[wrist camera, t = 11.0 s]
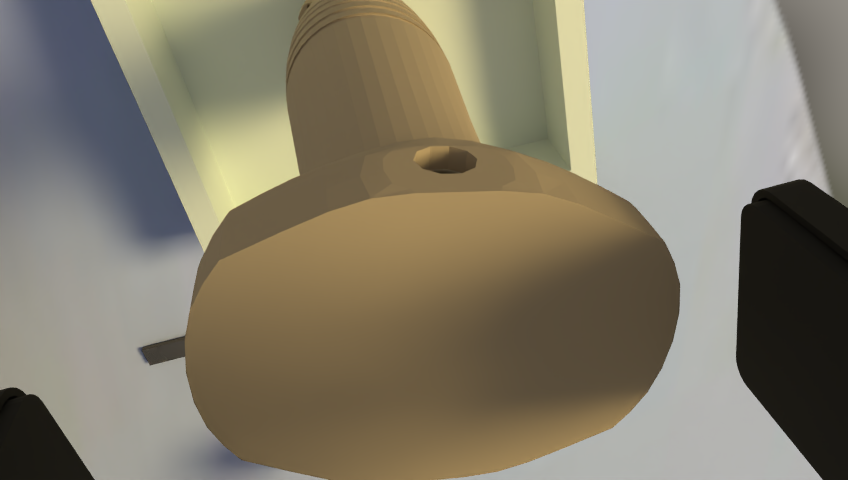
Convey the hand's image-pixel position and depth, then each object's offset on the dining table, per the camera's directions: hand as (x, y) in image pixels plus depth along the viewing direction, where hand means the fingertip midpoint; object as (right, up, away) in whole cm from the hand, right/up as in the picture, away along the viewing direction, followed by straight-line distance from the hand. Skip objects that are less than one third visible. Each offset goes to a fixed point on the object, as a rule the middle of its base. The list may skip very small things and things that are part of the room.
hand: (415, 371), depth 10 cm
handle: (-2, +8, +12) cm, 15 cm away
